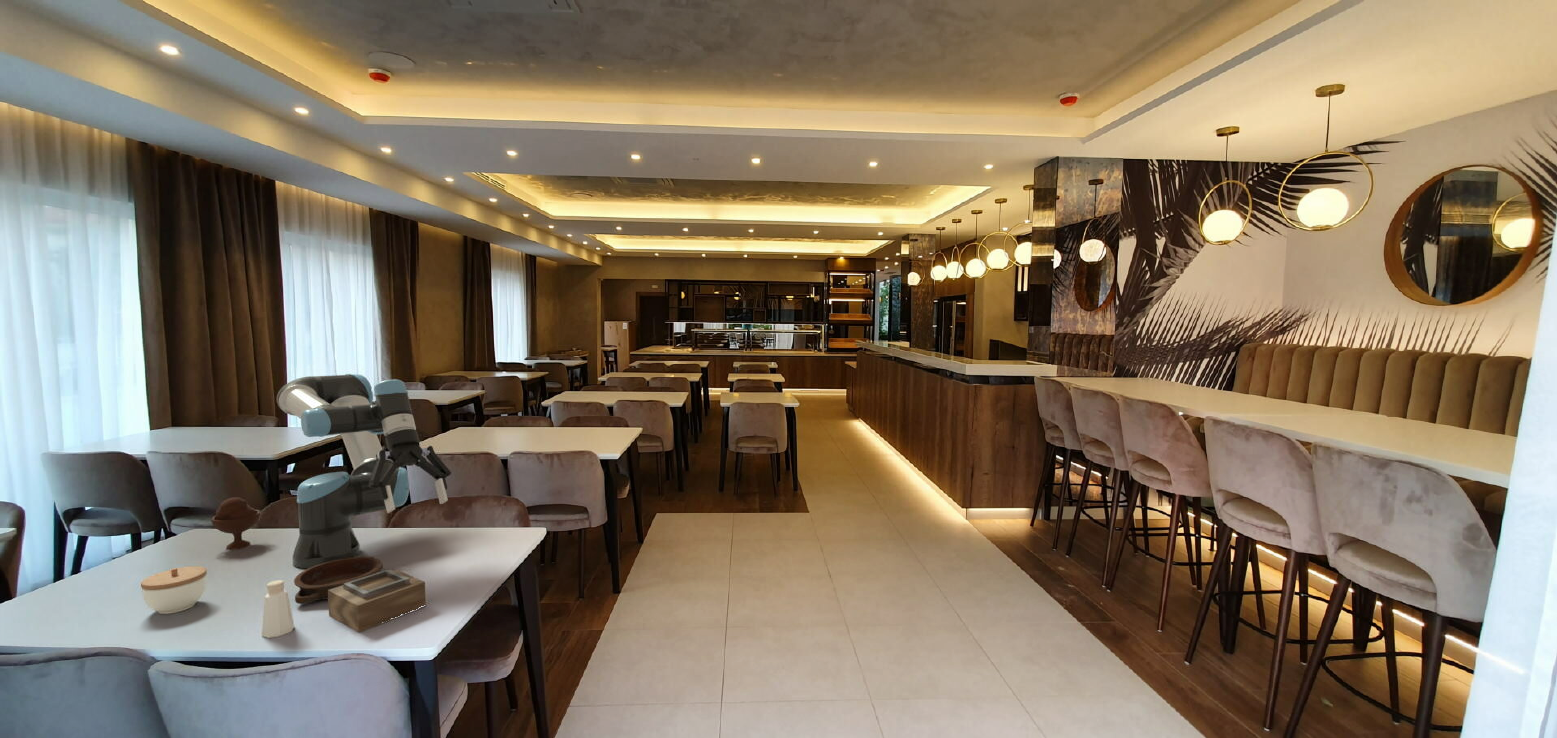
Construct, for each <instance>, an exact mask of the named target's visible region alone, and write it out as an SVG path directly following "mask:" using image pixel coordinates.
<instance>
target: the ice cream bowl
mask: <svg viewBox="0 0 1557 738" xmlns="http://www.w3.org/2000/svg"><path fill="white" fill-rule="evenodd" d="M260 514H261V509H255V508H254V507H250V505H249V503H248V501H247V500H245V499H243V498H241V497H238V496H237V497H230V498H227V499H225V500H224V501H222V502H221V503H220V504H219V507H218V509H216V511H215V516H212V517H211V524H212V526H213V527H214V528H215V529H216V530H217V531H220V532H222V533H225V534H232V535H233V541H231V542H230V543H228V544H227V545H226V548H225V549H226V550H239V549H243V548H247V547H249V546H251V541H248V540H245V539H242V538H243V537H242V534H243V532H247V531H248V530H250V529H251V528H253V527H254V526H255V525H256V524H257V523H258V522H259V519H260Z"/></svg>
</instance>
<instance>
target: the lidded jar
mask: <svg viewBox="0 0 1557 738" xmlns="http://www.w3.org/2000/svg"><path fill="white" fill-rule="evenodd" d="M207 575H208V574H207V568H205V566H204V567H203V566H185V567H184V566H183V567H179V568H178V567H173V568H171V569H169V570H165V571H161V572H158V573H156V574H153V575H150V576H148V577H146V578H144V579H143V580H142V581H141V582H140V587H141V591H142V597H143V600H144V603H145V604H146V606H147V607H148V608H149V609H151V610H153V611H155V612H157V613H158V614H160V615H169V614H174V613H179V612H183V611H185V610H188V609H190V608H192V607H194V606H195V604H196V602H198V601H199V600H200V599H201V598H202V596H203V595H204V592H205V591H206V588H207Z"/></svg>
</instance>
